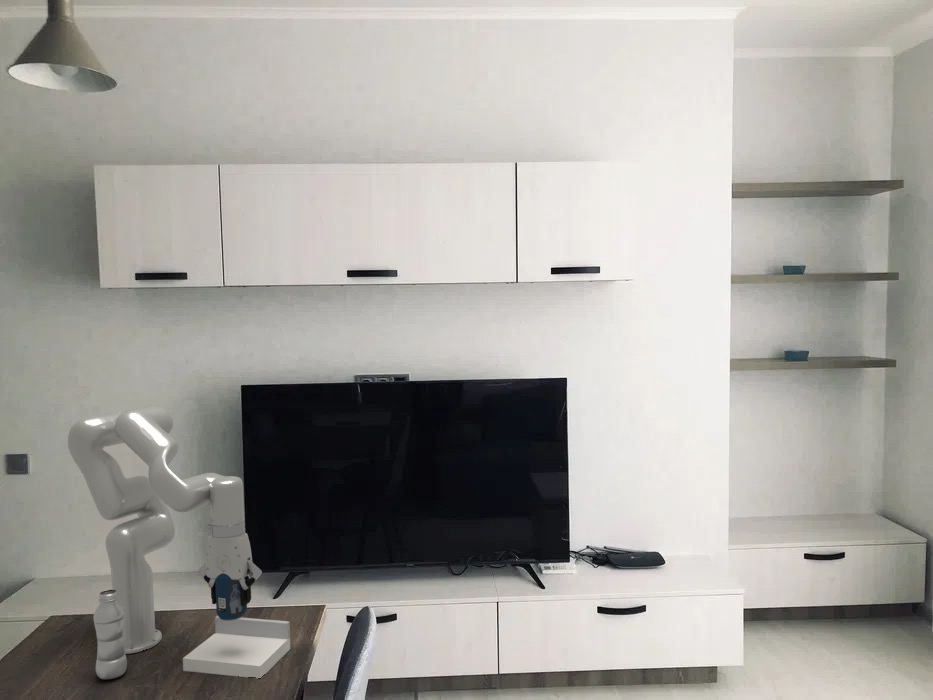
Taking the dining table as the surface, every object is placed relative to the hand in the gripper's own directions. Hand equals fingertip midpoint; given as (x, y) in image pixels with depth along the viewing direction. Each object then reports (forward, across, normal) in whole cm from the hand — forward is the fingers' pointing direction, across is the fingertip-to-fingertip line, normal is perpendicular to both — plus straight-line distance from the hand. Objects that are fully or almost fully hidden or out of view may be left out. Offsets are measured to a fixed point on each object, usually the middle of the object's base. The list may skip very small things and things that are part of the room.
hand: (231, 602), depth 171 cm
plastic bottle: (+15, -25, -10) cm, 31 cm away
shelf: (+15, 0, +3) cm, 15 cm away
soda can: (+3, 0, 0) cm, 3 cm away
